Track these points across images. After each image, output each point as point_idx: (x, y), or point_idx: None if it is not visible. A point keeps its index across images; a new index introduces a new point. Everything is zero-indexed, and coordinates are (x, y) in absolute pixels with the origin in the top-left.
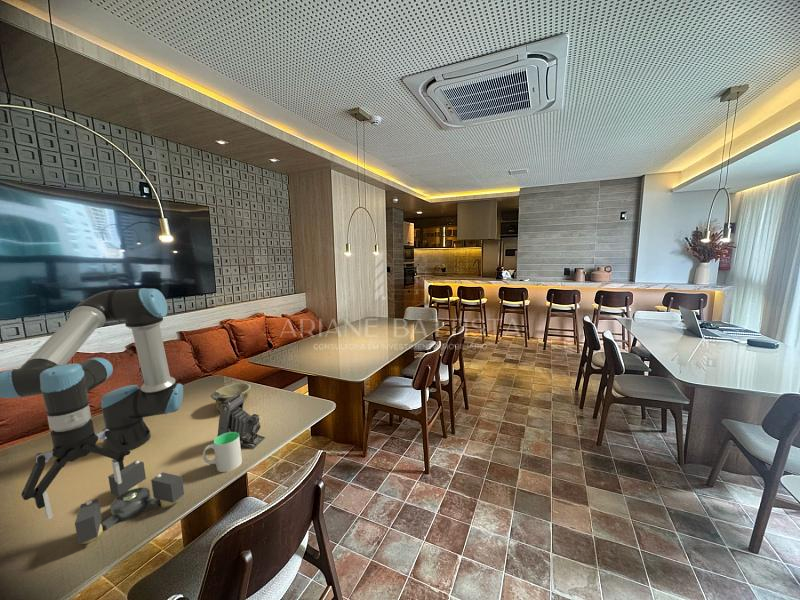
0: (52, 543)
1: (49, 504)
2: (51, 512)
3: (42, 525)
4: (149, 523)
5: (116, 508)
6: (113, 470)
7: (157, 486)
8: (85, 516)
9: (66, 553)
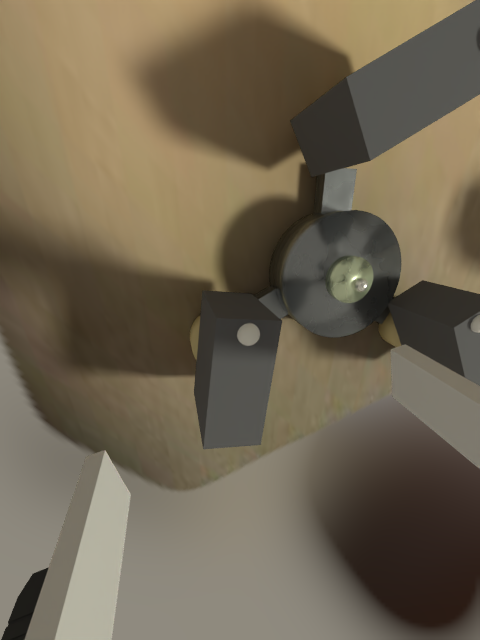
0: (106, 275)
1: (114, 594)
2: (125, 527)
3: (25, 77)
4: (339, 380)
5: (301, 312)
6: (460, 400)
7: (437, 344)
8: (235, 428)
9: (159, 363)
